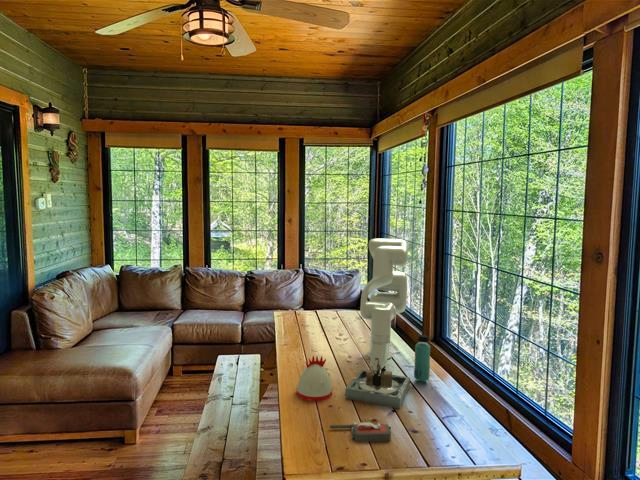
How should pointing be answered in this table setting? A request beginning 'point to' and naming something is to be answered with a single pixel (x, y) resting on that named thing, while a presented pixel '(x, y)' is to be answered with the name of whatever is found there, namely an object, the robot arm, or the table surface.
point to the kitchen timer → (314, 382)
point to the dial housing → (374, 397)
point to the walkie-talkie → (368, 431)
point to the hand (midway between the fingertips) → (379, 381)
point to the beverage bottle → (422, 359)
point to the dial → (386, 383)
